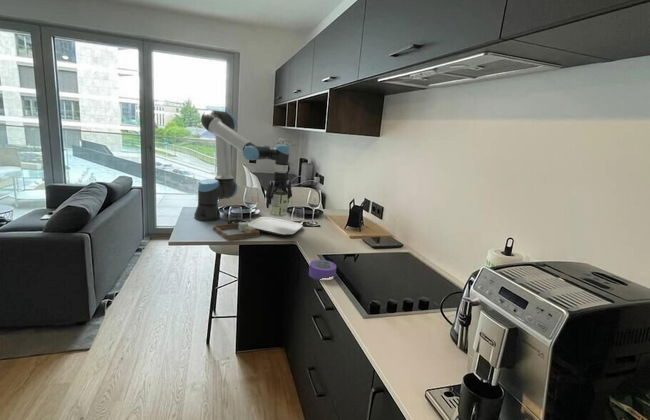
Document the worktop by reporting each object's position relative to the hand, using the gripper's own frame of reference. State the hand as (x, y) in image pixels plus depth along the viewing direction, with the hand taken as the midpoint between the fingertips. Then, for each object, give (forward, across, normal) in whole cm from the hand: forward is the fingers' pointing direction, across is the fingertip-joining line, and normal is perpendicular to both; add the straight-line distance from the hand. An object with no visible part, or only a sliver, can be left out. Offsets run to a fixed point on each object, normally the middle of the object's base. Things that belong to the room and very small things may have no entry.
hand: (278, 209), depth 200 cm
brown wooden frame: (+12, -25, +2) cm, 28 cm away
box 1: (+13, -19, +6) cm, 24 cm away
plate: (+12, 0, +1) cm, 12 cm away
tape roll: (+13, -17, -62) cm, 65 cm away
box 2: (+13, -19, -2) cm, 23 cm away
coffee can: (+3, 0, 0) cm, 3 cm away
